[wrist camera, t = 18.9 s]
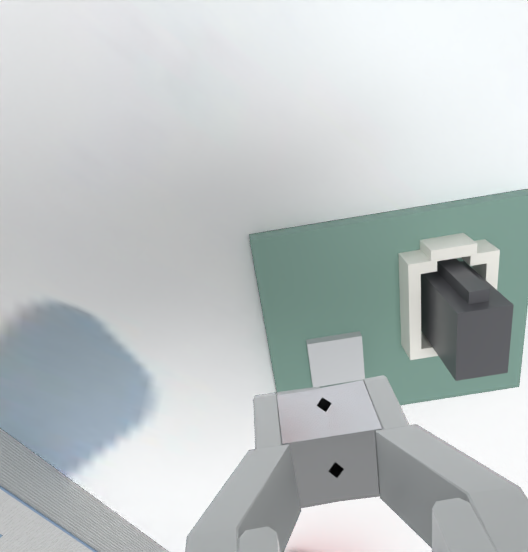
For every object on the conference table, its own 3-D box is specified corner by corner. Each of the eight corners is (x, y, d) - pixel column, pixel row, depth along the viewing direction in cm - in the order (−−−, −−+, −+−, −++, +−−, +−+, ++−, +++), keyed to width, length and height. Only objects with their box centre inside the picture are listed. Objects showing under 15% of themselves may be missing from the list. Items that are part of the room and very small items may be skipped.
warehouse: (172, 549, 57) (163, 617, 50) (88, 597, 60) (69, 667, 53) (-31, 400, 46) (-78, 460, 39) (-120, 468, 49) (-179, 534, 42)
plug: (418, 326, 42) (455, 381, 35) (417, 257, 40) (458, 301, 32) (461, 319, 42) (507, 372, 35) (464, 250, 39) (515, 292, 32)
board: (281, 413, 48) (284, 441, 44) (249, 234, 39) (250, 251, 36) (511, 377, 47) (533, 403, 44) (528, 188, 39) (558, 201, 35)
